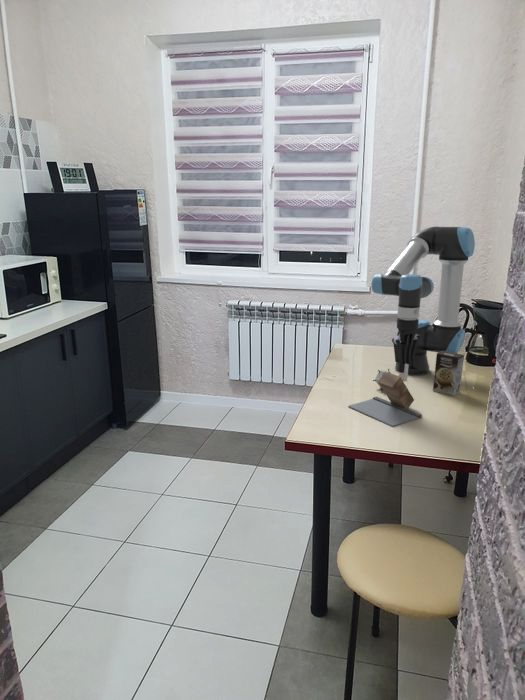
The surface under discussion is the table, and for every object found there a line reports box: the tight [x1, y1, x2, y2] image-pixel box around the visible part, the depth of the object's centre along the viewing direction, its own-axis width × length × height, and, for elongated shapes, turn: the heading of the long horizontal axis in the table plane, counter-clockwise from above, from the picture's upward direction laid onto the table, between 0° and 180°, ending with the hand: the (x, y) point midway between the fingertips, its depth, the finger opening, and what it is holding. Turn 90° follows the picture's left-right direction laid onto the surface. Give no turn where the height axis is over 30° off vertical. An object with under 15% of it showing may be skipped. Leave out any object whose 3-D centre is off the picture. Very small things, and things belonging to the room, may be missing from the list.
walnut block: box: [378, 372, 415, 409], centre depth 190 cm, size 5×7×14 cm
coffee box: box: [432, 351, 465, 397], centre depth 208 cm, size 9×6×16 cm
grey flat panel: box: [348, 396, 423, 428], centre depth 189 cm, size 15×22×1 cm
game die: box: [372, 368, 391, 391], centre depth 213 cm, size 9×8×10 cm
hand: (403, 380), depth 191 cm, fingers closed
